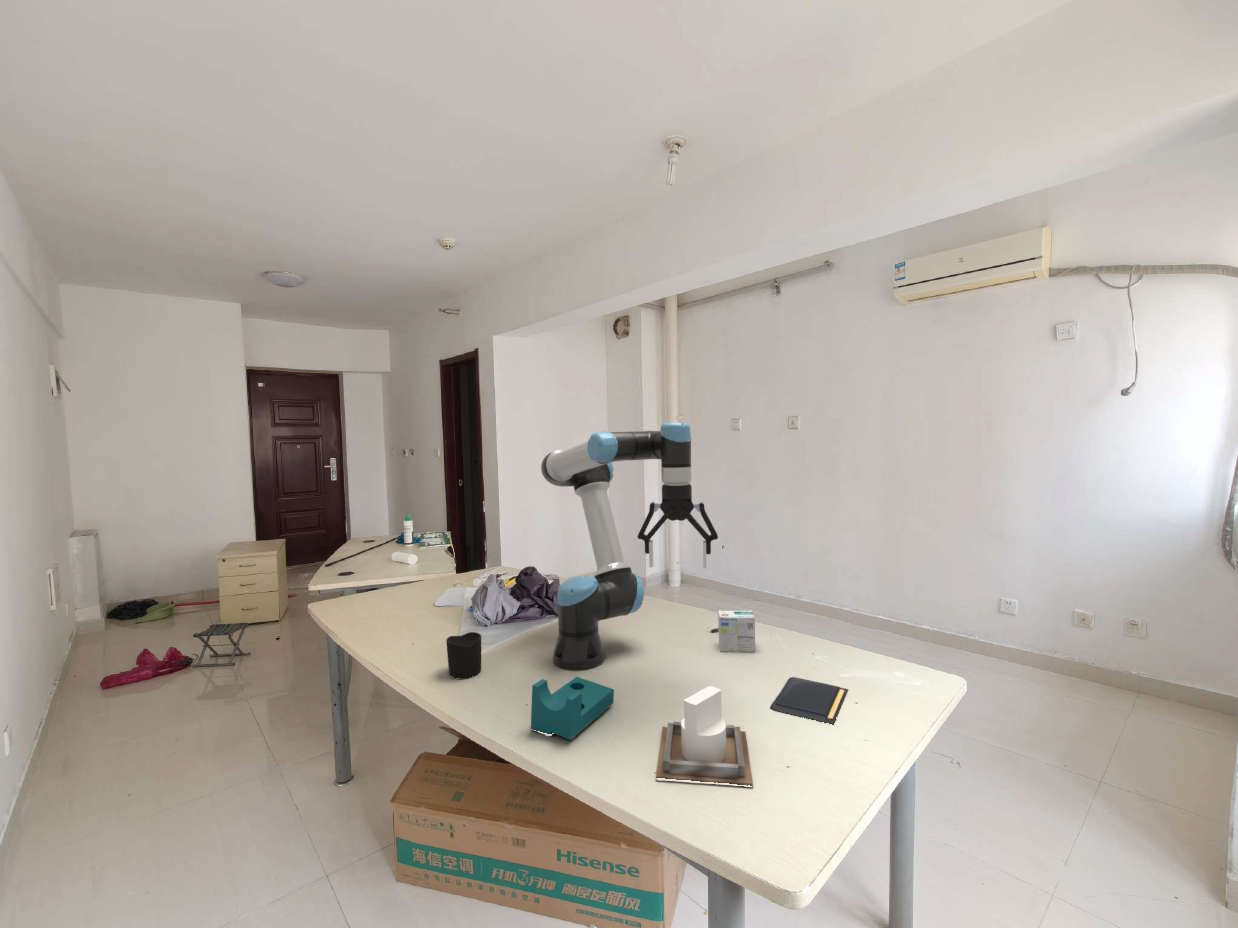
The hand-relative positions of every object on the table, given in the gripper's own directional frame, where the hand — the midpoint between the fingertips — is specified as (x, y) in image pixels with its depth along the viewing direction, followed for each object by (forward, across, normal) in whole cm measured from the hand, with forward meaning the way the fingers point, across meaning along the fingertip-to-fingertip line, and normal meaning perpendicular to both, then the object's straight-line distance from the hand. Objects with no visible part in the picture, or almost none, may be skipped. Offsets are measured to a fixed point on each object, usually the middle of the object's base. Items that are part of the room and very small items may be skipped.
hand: (677, 566), depth 142 cm
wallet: (+33, -32, +3) cm, 46 cm away
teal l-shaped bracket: (+32, +24, +18) cm, 44 cm away
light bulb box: (+32, -16, -28) cm, 45 cm away
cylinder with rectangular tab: (+31, -6, +30) cm, 44 cm away
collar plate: (+32, -6, +30) cm, 44 cm away
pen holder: (+32, +60, -3) cm, 68 cm away
